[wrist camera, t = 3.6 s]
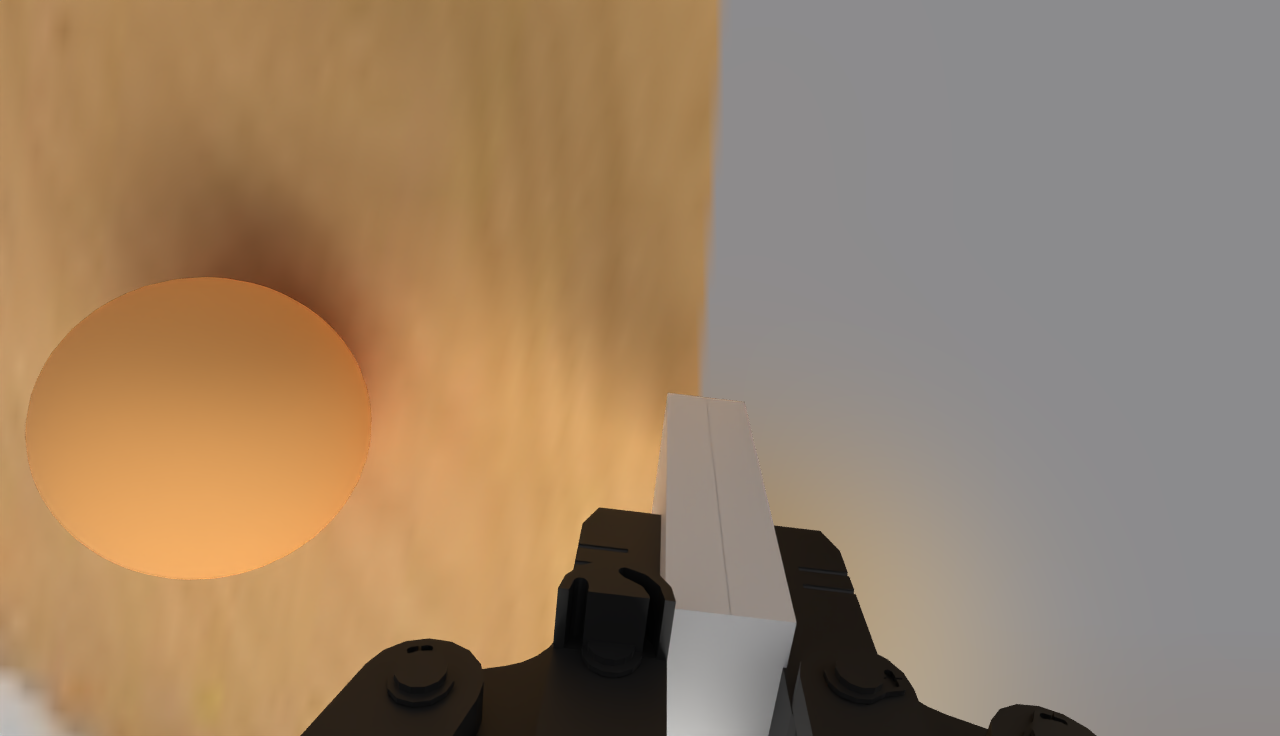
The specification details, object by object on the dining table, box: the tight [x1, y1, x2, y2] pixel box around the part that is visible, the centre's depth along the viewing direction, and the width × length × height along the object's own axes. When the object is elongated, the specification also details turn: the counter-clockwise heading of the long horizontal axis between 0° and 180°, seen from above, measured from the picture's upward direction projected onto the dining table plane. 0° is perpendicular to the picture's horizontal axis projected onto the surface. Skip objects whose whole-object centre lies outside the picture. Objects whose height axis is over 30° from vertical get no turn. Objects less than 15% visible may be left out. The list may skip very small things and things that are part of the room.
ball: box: [25, 277, 371, 580], centre depth 14 cm, size 6×6×6 cm
